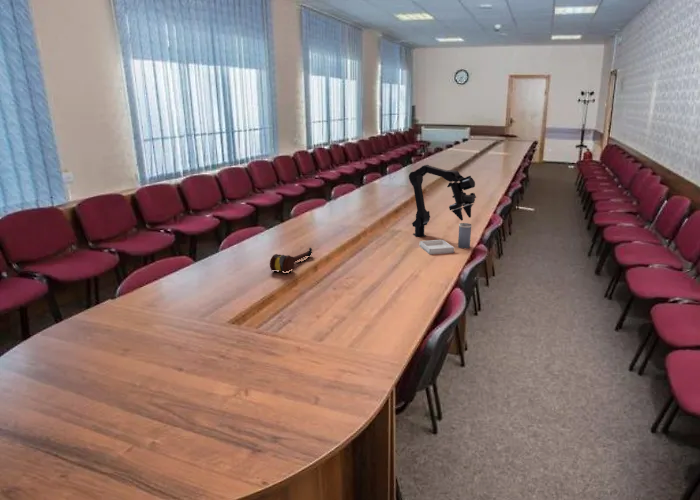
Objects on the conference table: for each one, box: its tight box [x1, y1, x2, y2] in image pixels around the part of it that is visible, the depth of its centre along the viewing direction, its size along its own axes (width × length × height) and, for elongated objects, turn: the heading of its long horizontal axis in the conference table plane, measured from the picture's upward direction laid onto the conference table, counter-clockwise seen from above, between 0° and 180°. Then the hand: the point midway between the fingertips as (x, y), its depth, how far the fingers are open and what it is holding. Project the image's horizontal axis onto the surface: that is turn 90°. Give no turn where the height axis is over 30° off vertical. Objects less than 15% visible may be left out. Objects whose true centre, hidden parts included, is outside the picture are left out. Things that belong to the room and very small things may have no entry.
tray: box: [418, 239, 455, 255], centre depth 267 cm, size 16×14×3 cm
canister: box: [457, 222, 472, 249], centre depth 269 cm, size 7×7×13 cm
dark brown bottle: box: [269, 247, 313, 272], centre depth 242 cm, size 10×34×10 cm
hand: (466, 218), depth 271 cm, fingers open, 9 cm apart
